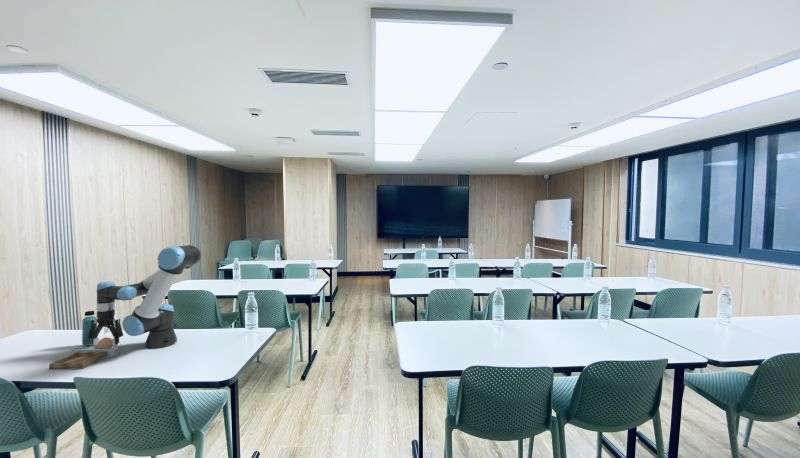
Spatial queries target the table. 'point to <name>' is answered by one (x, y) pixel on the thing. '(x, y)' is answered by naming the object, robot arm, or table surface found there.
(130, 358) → the table surface
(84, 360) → the walnut tray
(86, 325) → the beverage bottle
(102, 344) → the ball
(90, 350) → the acrylic divider
